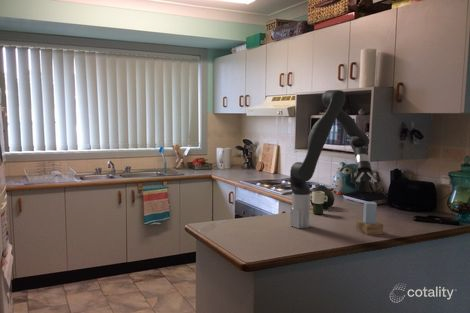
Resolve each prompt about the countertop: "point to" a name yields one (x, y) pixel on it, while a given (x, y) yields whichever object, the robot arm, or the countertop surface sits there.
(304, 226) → the robot arm
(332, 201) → the squash
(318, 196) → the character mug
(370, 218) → the grey pillar block
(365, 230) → the layered tan block
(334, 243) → the countertop surface
